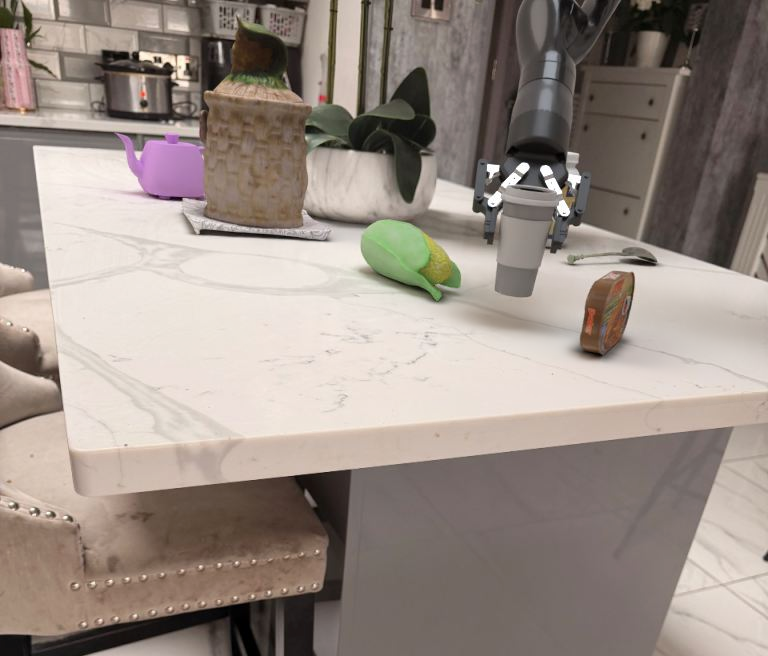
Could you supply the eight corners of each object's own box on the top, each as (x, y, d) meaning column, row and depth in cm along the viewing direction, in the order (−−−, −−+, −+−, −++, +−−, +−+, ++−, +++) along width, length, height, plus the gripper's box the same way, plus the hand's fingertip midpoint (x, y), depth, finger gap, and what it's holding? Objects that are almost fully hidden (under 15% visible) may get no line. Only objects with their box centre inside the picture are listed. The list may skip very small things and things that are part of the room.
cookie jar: (334, 241, 133) (348, 25, 117) (188, 234, 125) (183, 2, 110) (306, 216, 153) (315, 29, 137) (179, 208, 146) (174, 10, 130)
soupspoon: (663, 269, 146) (637, 263, 151) (668, 251, 144) (641, 245, 149) (581, 267, 134) (555, 260, 139) (585, 247, 133) (559, 241, 138)
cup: (501, 300, 90) (520, 191, 84) (475, 285, 96) (491, 182, 90) (551, 299, 93) (573, 194, 87) (523, 285, 98) (542, 185, 92)
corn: (401, 233, 119) (485, 265, 105) (372, 277, 120) (452, 315, 106) (368, 200, 113) (454, 230, 99) (338, 247, 114) (419, 283, 100)
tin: (596, 362, 87) (614, 287, 82) (569, 355, 88) (586, 281, 84) (626, 334, 98) (644, 268, 94) (602, 329, 100) (619, 263, 95)
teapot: (204, 192, 167) (204, 132, 161) (226, 202, 158) (226, 139, 152) (110, 189, 158) (106, 125, 152) (127, 200, 148) (123, 133, 142)
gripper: (485, 100, 91) (464, 216, 87) (605, 114, 90) (590, 233, 86) (479, 145, 99) (460, 255, 94) (591, 159, 97) (576, 271, 93)
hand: (522, 244), depth 90 cm, fingers closed on cup, 7 cm apart
